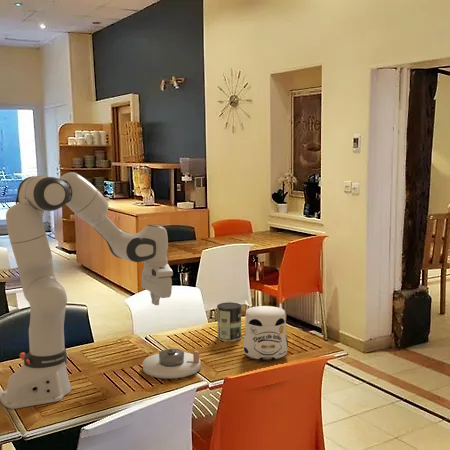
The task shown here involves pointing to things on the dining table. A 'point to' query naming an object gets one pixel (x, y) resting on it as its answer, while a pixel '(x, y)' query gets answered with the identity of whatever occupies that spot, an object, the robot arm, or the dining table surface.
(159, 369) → the crank wheel
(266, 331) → the milk container
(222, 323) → the coffee can
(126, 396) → the dining table surface
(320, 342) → the dining table surface
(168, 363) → the iron cover
